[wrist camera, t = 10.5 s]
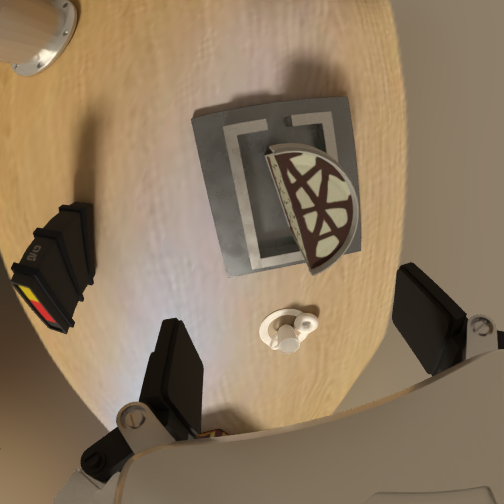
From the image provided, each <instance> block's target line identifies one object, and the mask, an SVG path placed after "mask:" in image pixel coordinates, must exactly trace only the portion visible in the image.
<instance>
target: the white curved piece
mask: <svg viewBox="0 0 504 504" xmlns="http://www.w3.org/2000/svg"><path fill="white" fill-rule="evenodd" d="M283 315H293V316H296V317H297V318H296V319H295V321H294V326H295V328H296V330H298V331H299V332H301V334H300V335H299V336H298V337H297V334H296V332H295V330H294V329H293V327H292V326H290V325H282V326H281V327H280V328H279V330H278V333H277V334H275V336H274V337H273V338H272V339H271V338H270V337H269V335H268V332H267V329H268V326H269V324H270V323H271V322H272V321H273V320H274V319H275V318H277V317H279V316H283ZM302 323H303V324H302ZM317 326H318V319H317V317H316V316H315V315H313V314H311V313H303V312H302V311H299V310H296V309H282V310H278V311H276V312H273V313H272V314H270V315H269V316H267V317H266V318H265V319H264V320H263V322H262V323H261V326H260V329H259V333H260V337H261V339H262V340H263V342H265V343H266V344H267V345H269V346H270V347H271V349H273V350H276V349H278V348H279V350H280V351H281V352H283V353H292V352H295V351H296V350H297V349H298V348H299V346H300V342H301V341H303V340H304V339H305V338H306V337H307V335H308V334H309V332H312V331H314V330H315V329H316V328H317ZM276 338H277V340H278V342H277V341H274V340H275V339H276Z"/></svg>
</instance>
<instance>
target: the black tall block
mask: <svg viewBox="0 0 504 504" xmlns="http://www.w3.org/2000/svg"><path fill="white" fill-rule="evenodd" d="M33 235H34V238H35V239H34V240H33V241H32V243H31V244H30V245H29V247H28V248H27V249H26V251H25V253H24V255H23V257H22V259H21V261H20V263H15V262H14V263H13V265H12V267H11V270H12V271H13V273H14V275H13V277H12V279H11V281H10V282H11V284H12V285H13V286H14V288H15V289H16V290H17V292H18V293H19V294H20V296H21V297H22V298H23V299H24V301H25V302H26V303H27V304H28V305H29V307H30V308H31V309H32V310H33V311H34V313H35V314H36V315H37V316H38V317H39V318H40V319H41V320H42V322H43V323H44V324H45V325H46V326H47V327H48V328H49V329H52V330H55V331H58V332H61V333H64V334H67V332H68V329H69V327H72V328H73V327H74V324H75V322H74V320H73V319H72V317H73V314H74V311H75V308H76V306H77V303H78V301H81V302H83V300H84V297H83V294H82V293H83V292H84V290H85V288H86V287H87V285H93V284H94V281H93V277H94V276H95V267H94V253H93V228H92V204H89V203H81V202H74V203H72V204H71V205H62V206H60V207H59V213H58V214H57V215H56V216H54V217H53V218H52V219H51V220H50V221H49V222H48V223H47V224H46V225H45V227H44V228H36V230H35V231H34V232H33Z"/></svg>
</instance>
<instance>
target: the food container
mask: <svg viewBox="0 0 504 504" xmlns="http://www.w3.org/2000/svg"><path fill="white" fill-rule="evenodd" d="M269 147H270V149H271V150H272V151H273V153H271V154H268V155H265V158H266V161H267V164H268V167H269V170H270V172H271V175H272V178H273V181H274V184H275V187H276V190H277V193H278V196H279V199H280V202H281V205H282V208H283V211H284V214H285V217H286V220H287V223H288V226H289V229H290V231H291V233H292V235H293V237H294V239H295V241H296V243H297V245H298V247H299V249H300V251H301V253H302V255H303V257H304V259H305V261H306V263H307V265H308V268H309V272H310V273H311V275H312V276H315V275H317V274H319V273H321V272H323V271H325V270H326V269H328V268H329V267H331V266H332V265H333V264H334V263H336V262H337V261H338V260H339V259H340V258H341V256H342V255H343V254H344V253H345V252H346V250H347V249H348V247H349V246H350V244H351V242H352V240H353V238H354V235H355V232H356V229H357V224H358V213H359V208H358V207H359V206H358V199H357V194H356V191H355V188H354V185H353V183H352V181H351V179H350V177H349V176H348V175H347V173H346V172H345V170H344V169H343V168H342V167H341V165H340V164H339V163H338V162H337V161H336V160H334V159H333V158H332V157H331V156H330V155H328V154H327V153H325V152H324V151H322V150H319V149H317V148H315V147H312V146H309V145H305V144H298V143H283V144H276V145H272V146H269Z"/></svg>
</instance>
